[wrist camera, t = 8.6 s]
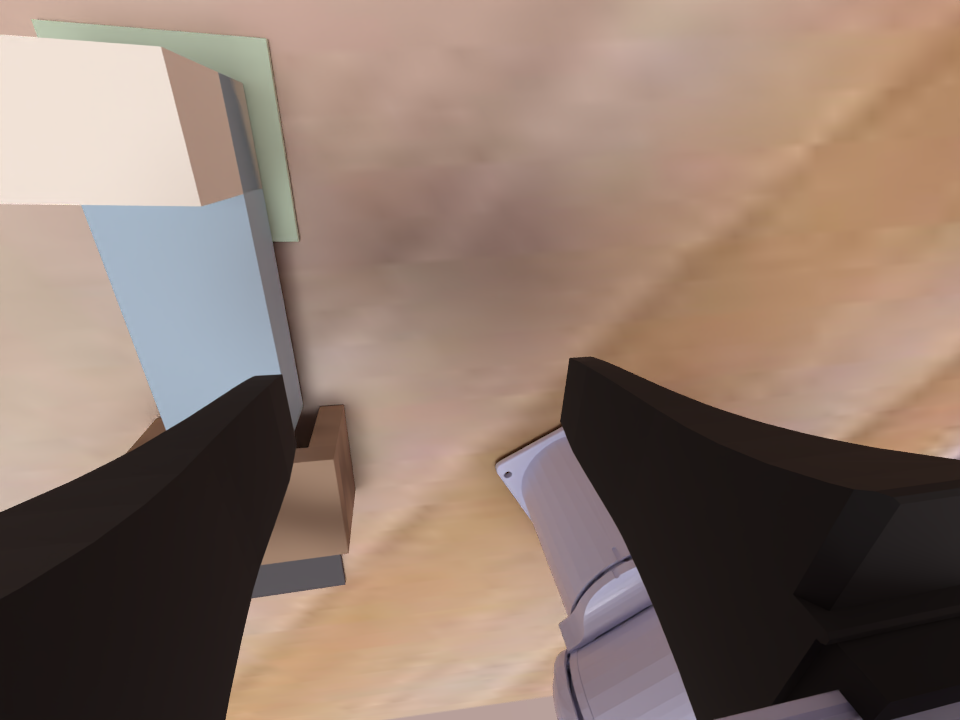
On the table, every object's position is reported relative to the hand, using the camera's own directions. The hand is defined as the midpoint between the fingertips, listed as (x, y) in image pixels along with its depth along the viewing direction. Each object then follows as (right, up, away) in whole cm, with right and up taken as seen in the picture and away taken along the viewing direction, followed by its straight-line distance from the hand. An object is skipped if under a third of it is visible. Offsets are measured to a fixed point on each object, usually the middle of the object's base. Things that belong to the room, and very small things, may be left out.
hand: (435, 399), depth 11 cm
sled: (-10, +5, +7) cm, 13 cm away
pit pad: (-11, -11, +15) cm, 22 cm away
